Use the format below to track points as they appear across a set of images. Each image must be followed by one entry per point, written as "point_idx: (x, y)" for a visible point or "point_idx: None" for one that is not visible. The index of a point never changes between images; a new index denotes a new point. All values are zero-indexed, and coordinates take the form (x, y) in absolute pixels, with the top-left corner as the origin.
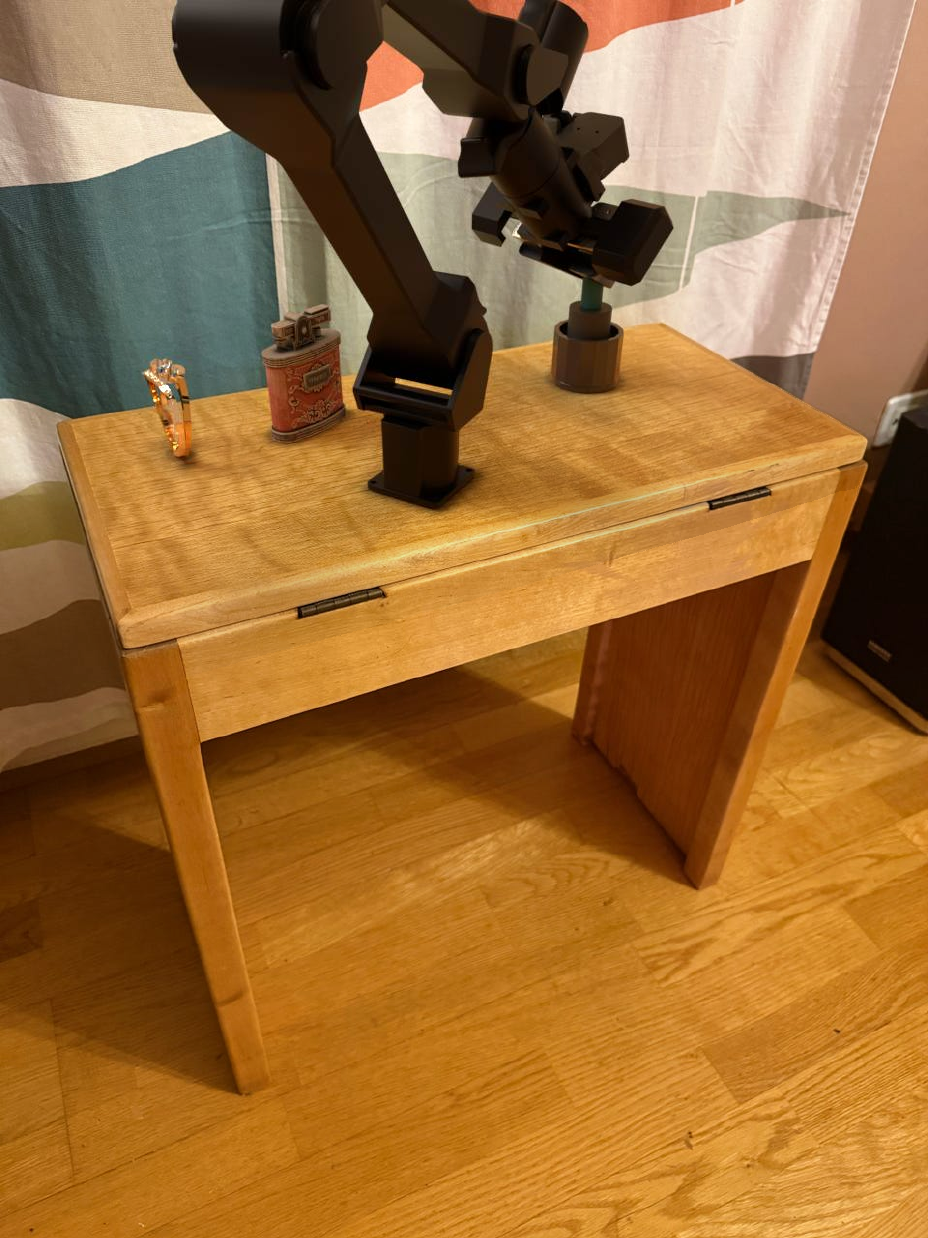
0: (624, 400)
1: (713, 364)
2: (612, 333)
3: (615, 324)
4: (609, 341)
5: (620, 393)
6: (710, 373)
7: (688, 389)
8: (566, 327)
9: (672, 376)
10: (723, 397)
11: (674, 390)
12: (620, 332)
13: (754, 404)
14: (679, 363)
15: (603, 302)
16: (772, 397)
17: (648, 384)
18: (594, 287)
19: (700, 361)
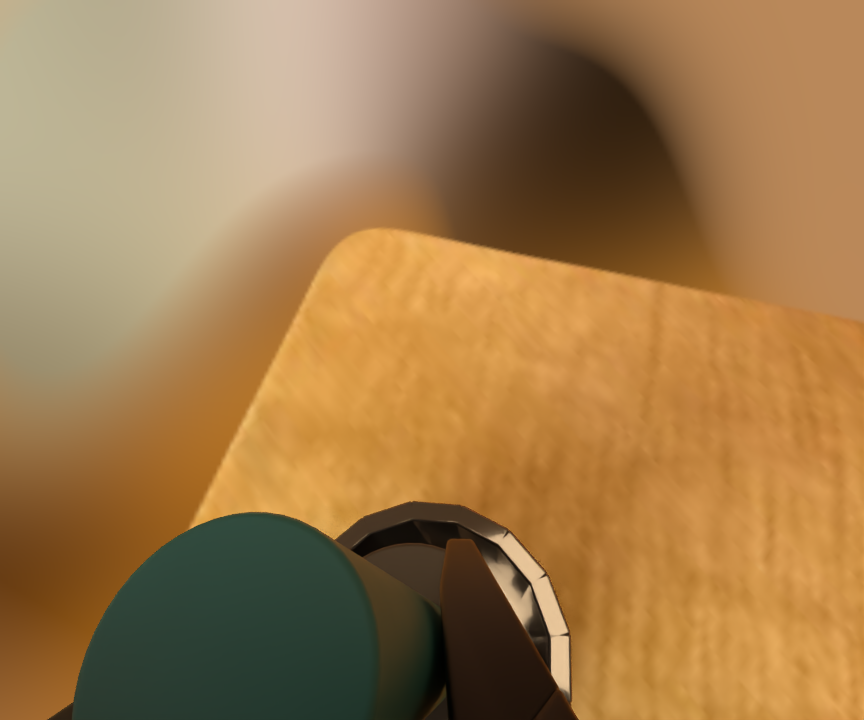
0: (639, 686)
1: (594, 293)
2: (456, 529)
3: (456, 513)
4: (571, 698)
5: (589, 646)
6: (632, 338)
7: (682, 461)
8: None
9: (589, 423)
10: (777, 433)
11: (666, 496)
12: (531, 574)
13: (858, 409)
14: (538, 345)
15: (413, 552)
16: (839, 342)
17: (590, 518)
18: (433, 709)
19: (562, 301)
